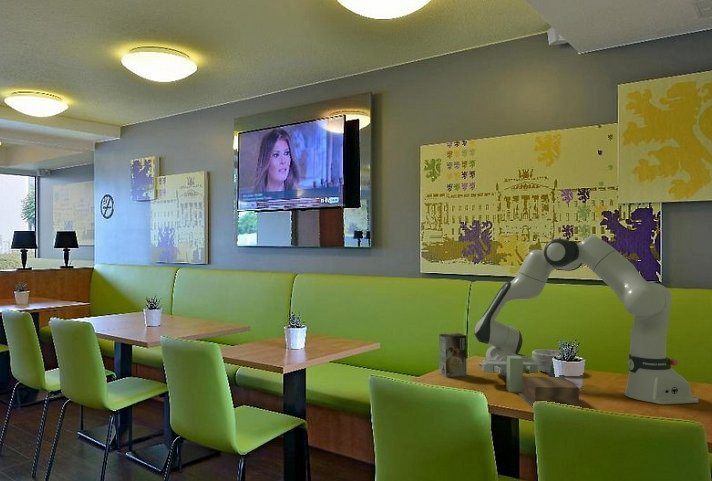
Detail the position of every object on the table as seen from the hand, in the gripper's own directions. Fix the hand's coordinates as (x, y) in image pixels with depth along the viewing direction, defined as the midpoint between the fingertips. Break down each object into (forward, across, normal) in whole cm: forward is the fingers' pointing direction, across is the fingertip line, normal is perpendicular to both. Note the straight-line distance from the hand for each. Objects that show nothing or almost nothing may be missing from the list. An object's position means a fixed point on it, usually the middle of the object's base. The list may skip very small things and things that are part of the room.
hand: (515, 371), depth 201 cm
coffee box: (-24, -18, +7) cm, 31 cm away
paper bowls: (-32, +24, +7) cm, 40 cm away
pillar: (0, 0, +7) cm, 7 cm away
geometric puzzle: (-16, +20, +7) cm, 26 cm away
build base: (+12, +8, +7) cm, 16 cm away
